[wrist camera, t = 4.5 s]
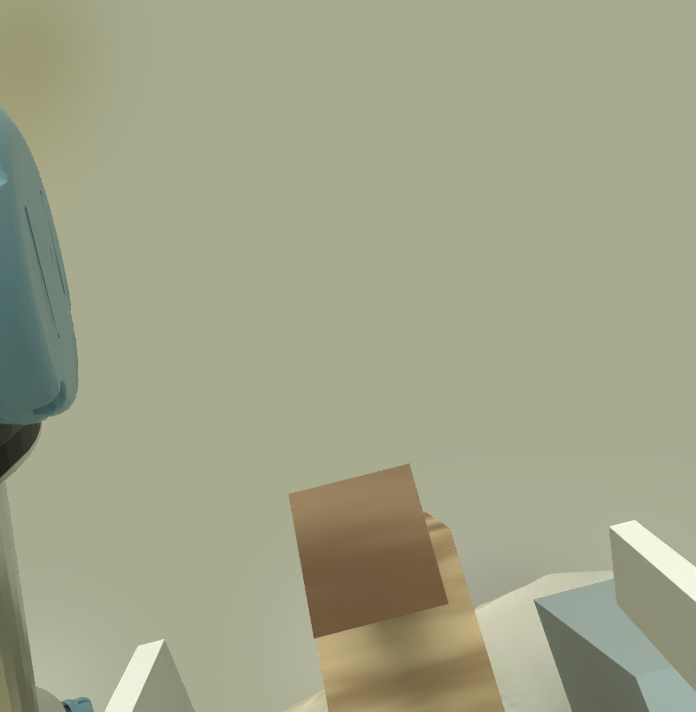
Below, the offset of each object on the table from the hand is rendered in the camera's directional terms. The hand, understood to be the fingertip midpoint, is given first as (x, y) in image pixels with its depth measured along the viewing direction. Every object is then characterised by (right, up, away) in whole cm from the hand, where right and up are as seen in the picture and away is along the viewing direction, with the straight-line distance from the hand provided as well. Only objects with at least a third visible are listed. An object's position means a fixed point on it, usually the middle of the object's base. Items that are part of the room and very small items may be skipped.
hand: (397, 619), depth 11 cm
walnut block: (0, -5, +14) cm, 15 cm away
